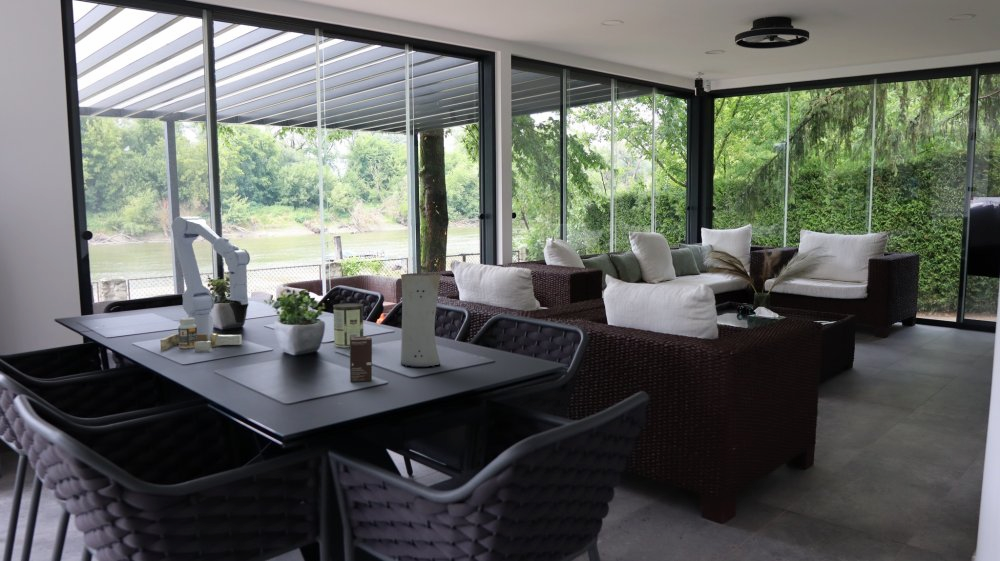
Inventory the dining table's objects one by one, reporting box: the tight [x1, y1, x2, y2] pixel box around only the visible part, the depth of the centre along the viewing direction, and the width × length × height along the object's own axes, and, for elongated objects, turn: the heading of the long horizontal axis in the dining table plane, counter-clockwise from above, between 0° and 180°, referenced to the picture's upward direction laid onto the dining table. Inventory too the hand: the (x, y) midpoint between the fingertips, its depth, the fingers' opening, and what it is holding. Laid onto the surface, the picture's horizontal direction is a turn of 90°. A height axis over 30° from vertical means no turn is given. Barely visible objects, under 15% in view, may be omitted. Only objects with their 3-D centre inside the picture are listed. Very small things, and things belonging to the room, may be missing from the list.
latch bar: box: [208, 333, 243, 346], centre depth 251 cm, size 10×3×3 cm, turn 93°
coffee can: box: [332, 302, 364, 349], centre depth 253 cm, size 10×10×14 cm
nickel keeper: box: [194, 340, 212, 353], centre depth 242 cm, size 4×5×3 cm
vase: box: [400, 272, 442, 368], centre depth 223 cm, size 13×14×28 cm
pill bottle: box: [177, 317, 197, 350], centre depth 247 cm, size 6×6×10 cm
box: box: [349, 336, 373, 383], centre depth 202 cm, size 6×4×12 cm
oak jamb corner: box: [160, 333, 209, 351], centre depth 248 cm, size 11×12×4 cm
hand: (239, 322), depth 257 cm, fingers closed
